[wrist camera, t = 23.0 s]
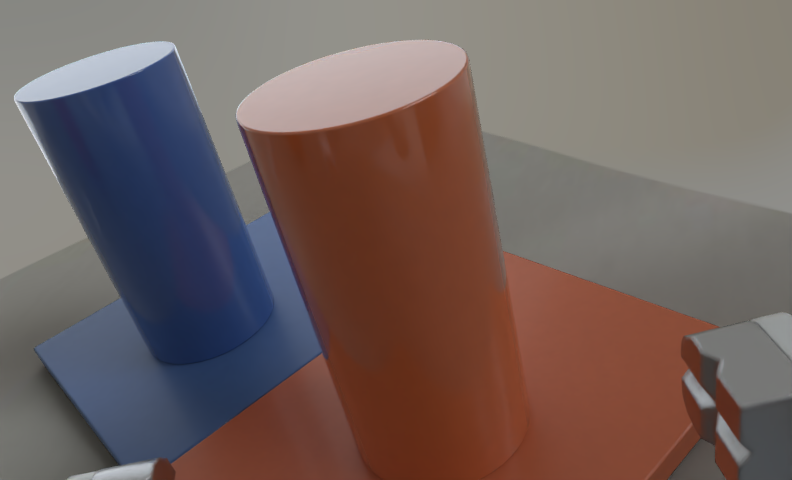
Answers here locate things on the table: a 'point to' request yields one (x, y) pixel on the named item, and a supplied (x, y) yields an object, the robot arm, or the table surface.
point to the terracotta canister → (396, 252)
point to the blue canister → (152, 198)
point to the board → (321, 409)
